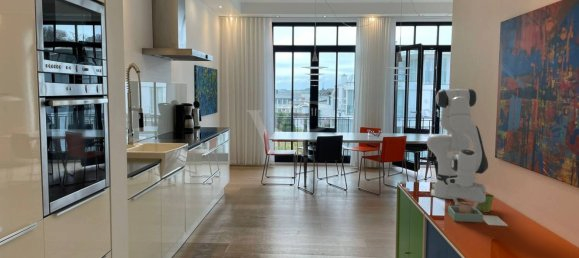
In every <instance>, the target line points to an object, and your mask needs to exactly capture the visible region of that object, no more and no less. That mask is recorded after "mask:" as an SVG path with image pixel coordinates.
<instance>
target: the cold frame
mask: <svg viewBox="0 0 579 258" xmlns="http://www.w3.org/2000/svg"><path fill="white" fill-rule="evenodd" d="M447 214H448V215H449V216H450V218H451V219H452V221H454V222H466V223H467V222H469V223H470V222H471V223H483V222H484V220H483V215H484V214H483V212H482V211H479V210H478V207H476V210H472V206H471V214H469V213H459V206H456V205H447Z"/></svg>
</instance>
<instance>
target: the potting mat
mask: <svg viewBox="0 0 579 258" xmlns="http://www.w3.org/2000/svg"><path fill="white" fill-rule="evenodd" d="M483 222H485V223H486V224H487V225H488V226H499V227H502V226H503V227H509V225H508V224H507V223H506V222H505V221H503V220H502V219H501V218H500V217H499V216H498V215H489V214H488V215H485V214H483Z"/></svg>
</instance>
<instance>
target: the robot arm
mask: <svg viewBox="0 0 579 258" xmlns="http://www.w3.org/2000/svg"><path fill="white" fill-rule="evenodd" d="M477 99H478V97H477V93H476V91H475V90H474V89H472V88H449V89H439V90H438V91H437V92H436V96H435V103H436V106H438V107H439V108H442V109H441V118H440V126H441V128H442V129H444V130H445V131H448V132H449V133H450V134H439V133H438V134H432V135H431V134H430V135H429V136H428V137H427V140H426V146H427V148H428V149H429V151H431V152H432V153H433V154H434V156H435V157H436V160H437V174H436V180H435V182H434V183H432V185H431V187H432V189H431V191H430V196H431V197H436V198H439V199H447V200H453V202H454V206H459V203H460V202H459V201H458V199H462V200H465V201H466V200H467V201H471V202H473V205H472V206H471V207H472V210H476V208H477V207H478V203H483V202H485V201H486V194H487V193H486V189H487V187H486V186H485V185H484V184H481V183H477V178H476V177H477V176H476V174H481V175H482V174H483V173H485V172H486V171H487V170H488V169H489V162H488V158H487V155H486V152H485V148H484V145H483V140H482V135H481V133H480V132H481V131H480V128H479V127H478V126H477V125H475V124H474V122H473V120H472V111H471V107H474V106H475V105H476V102H477ZM472 145H473V149H474V151H473V150H470V149H471V147H472ZM448 153H458V154H454V155H453V156H452V157H450V156H449V155H448Z"/></svg>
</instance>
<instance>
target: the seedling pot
mask: <svg viewBox="0 0 579 258" xmlns="http://www.w3.org/2000/svg"><path fill="white" fill-rule="evenodd" d="M472 206H473V204H472V203H471V202H465V201H460V202H459V213H469V214H471V207H472Z"/></svg>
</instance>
